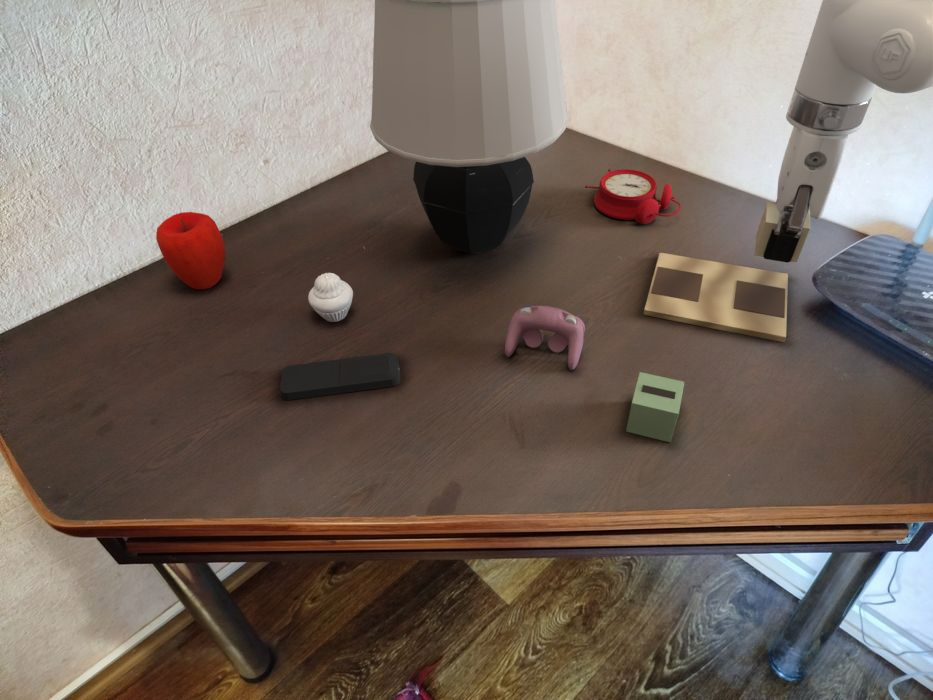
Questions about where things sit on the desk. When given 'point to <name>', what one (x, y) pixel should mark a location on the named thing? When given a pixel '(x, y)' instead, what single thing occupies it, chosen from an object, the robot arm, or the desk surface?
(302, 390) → the remote control
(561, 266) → the desk surface
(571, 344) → the video game controller
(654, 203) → the alarm clock
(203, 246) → the apple
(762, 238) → the cream cube
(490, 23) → the table lamp
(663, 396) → the letter tile i
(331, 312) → the muffin
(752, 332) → the word board
